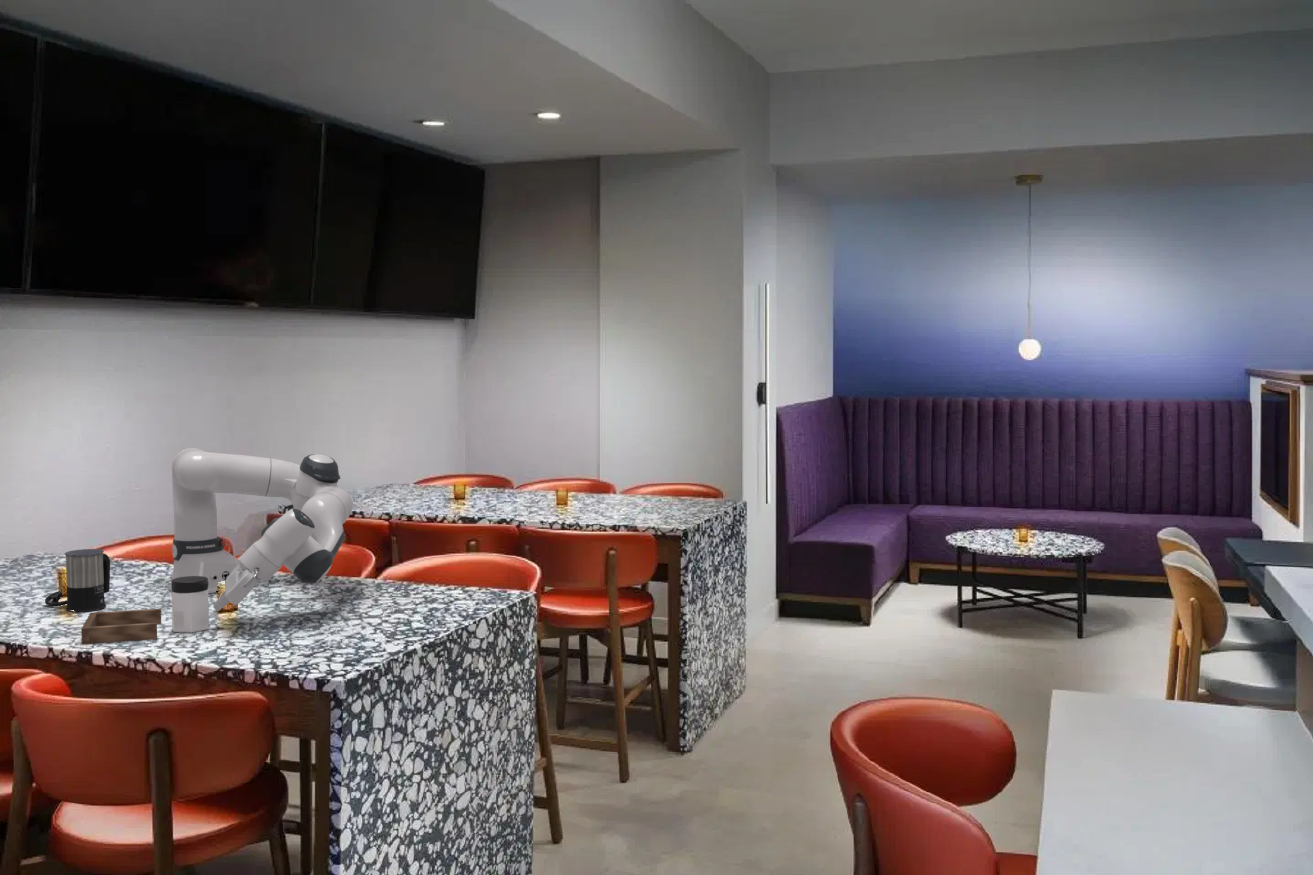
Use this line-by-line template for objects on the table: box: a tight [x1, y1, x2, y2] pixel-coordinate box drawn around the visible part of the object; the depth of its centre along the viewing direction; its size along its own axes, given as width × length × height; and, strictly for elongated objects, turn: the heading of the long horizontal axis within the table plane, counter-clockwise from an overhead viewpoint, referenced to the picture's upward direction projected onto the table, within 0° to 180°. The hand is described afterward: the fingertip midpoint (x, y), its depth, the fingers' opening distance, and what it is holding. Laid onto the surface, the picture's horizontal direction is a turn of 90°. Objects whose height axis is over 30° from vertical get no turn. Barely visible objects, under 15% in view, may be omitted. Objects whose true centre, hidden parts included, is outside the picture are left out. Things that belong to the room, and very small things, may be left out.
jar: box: [170, 576, 210, 634], centre depth 272 cm, size 9×8×12 cm
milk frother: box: [44, 548, 111, 612], centre depth 294 cm, size 14×16×15 cm
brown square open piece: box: [80, 608, 162, 645], centre depth 268 cm, size 16×17×4 cm
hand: (215, 608), depth 274 cm, fingers closed
